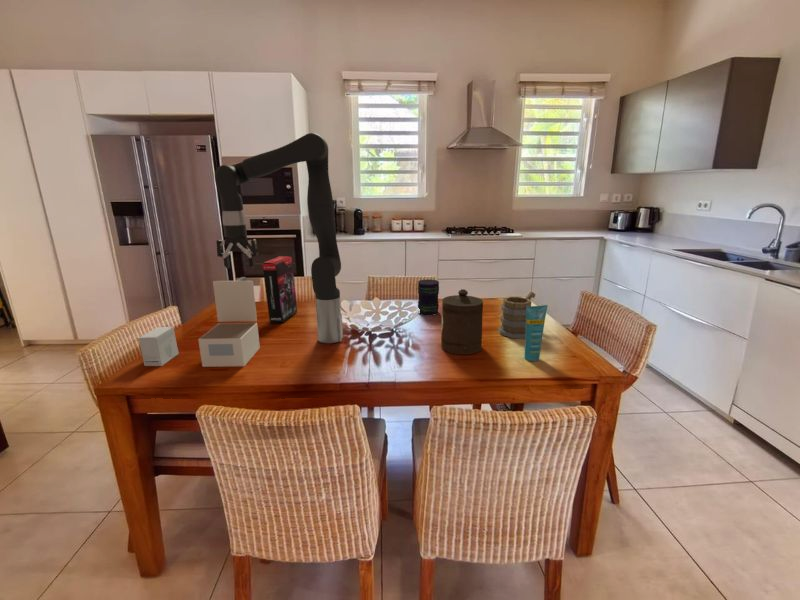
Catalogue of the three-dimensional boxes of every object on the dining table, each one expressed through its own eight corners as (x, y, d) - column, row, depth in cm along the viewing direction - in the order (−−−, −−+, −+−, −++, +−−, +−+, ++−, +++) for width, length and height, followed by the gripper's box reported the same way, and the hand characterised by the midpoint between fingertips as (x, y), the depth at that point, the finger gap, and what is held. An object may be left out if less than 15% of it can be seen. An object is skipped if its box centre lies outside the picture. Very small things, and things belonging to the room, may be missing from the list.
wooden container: (457, 337, 160) (459, 283, 154) (489, 347, 150) (492, 289, 144) (432, 347, 150) (433, 290, 144) (465, 358, 140) (467, 297, 134)
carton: (259, 347, 151) (257, 322, 148) (244, 366, 135) (240, 338, 132) (222, 348, 150) (218, 322, 148) (202, 366, 135) (198, 338, 132)
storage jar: (439, 315, 186) (440, 284, 182) (418, 315, 187) (418, 284, 182) (437, 309, 196) (438, 279, 192) (417, 309, 196) (417, 279, 192)
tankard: (519, 340, 156) (522, 303, 151) (492, 332, 165) (494, 297, 161) (546, 329, 168) (550, 294, 164) (520, 321, 177) (522, 288, 173)
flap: (256, 321, 147) (265, 312, 157) (252, 280, 143) (262, 275, 153) (218, 321, 147) (229, 313, 157) (212, 281, 143) (225, 275, 153)
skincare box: (161, 353, 146) (156, 326, 143) (179, 353, 146) (174, 326, 143) (143, 366, 136) (137, 337, 133) (161, 366, 136) (156, 337, 133)
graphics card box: (282, 324, 177) (277, 262, 169) (267, 323, 178) (261, 262, 170) (297, 312, 193) (293, 256, 185) (284, 311, 194) (279, 255, 186)
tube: (525, 362, 136) (530, 308, 131) (518, 356, 141) (522, 304, 136) (545, 360, 138) (550, 306, 133) (537, 354, 143) (542, 302, 137)
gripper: (257, 222, 149) (262, 265, 153) (219, 222, 149) (224, 266, 153) (250, 224, 142) (255, 269, 146) (210, 224, 142) (216, 270, 146)
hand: (239, 267), depth 150 cm, fingers open, 8 cm apart
